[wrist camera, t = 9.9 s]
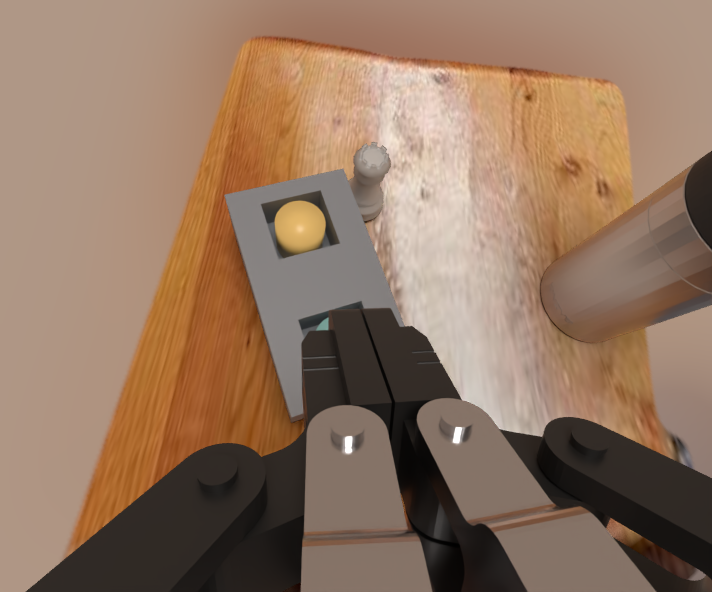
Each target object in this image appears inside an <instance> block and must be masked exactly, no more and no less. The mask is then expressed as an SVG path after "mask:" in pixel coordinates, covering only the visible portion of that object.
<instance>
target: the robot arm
mask: <svg viewBox="0 0 712 592" xmlns="http://www.w3.org/2000/svg"><path fill="white" fill-rule="evenodd" d="M541 297H542V302H543V305H544V307H545V310H546V312H547V314H548V315H549V317H550V319H551V320H552V321H553V322H554V324H555V325H556V326H557V327H558V328H559V329H561V330H562V331H563V332H564V333H565V334H567V335H569V336H571V337H573V338H574V339H577V340H580V341H583V342H591V343H595V342H603V341H606V340H609V339H612V338H615V337H618V336H621V335H624V334H627V333H630V332H633V331H636V330H639V329H642V328H645V327H648V326H651V325H654V324H656V323H660V322H663V321H666V320H668V319H672V318H675V317H678V316H681V315H684V314H687V313H690V312H692V311H695V310H698V309H701V308H704V307H707V306H710V305H712V151H711V152H710V153H708V154H706V155H705V156H704V157H702V158H701V159H700V160H698V161H697V162H695V163H694V164H693V165H691V166H690V167H688V168H687V169H685V170H684V171H682V172H681V173H680V174H678V175H677V176H675V177H674V178H673V179H671V180H670V181H668V182H667V183H665V184H664V185H663V186H661V187H660V188H659V189H657V190H656V191H654V192H653V193H652V194H650V195H649V196H648V197H646V198H645V199H643V200H642V201H640V202H639V203H637V204H636V205H634V206H633V207H632V208H630V209H629V210H627V211H626V212H624V213H623V214H622V215H620V216H619V217H617V218H616V219H614V220H613V221H612V222H610V223H609V224H607V225H606V226H605V227H603V228H602V229H600V230H599V231H597V232H596V233H595V234H593V235H592V236H590V237H589V238H587V239H586V240H585V241H583V242H582V243H580V244H579V245H577V246H576V247H574V248H573V249H571V250H570V251H569V252H567V253H566V254H564V255H563V256H562V257H560V258H559V259H557V260H556V261H554V262H553V263H552V264H551V265H550V266H549V267H548V268H547V270H546V271H545V273H544V275H543V278H542V282H541ZM301 355H302V400H303V414H304V428H305V429H304V431H303V433H302V434H301V435H300V437H299V438H298V439H297V440H296V441H294V442H293V443H292V444H290V445H289V446H287V447H286V448H284V449H282V450H279V451H277V452H274V453H271V454H269V455H266V456H263V457H260V455H259V454H258V453H257V452H256V451H254V450H252V449H251V448H249V447H246V446H244V445H240V444H233V443H222V444H216V445H212V446H208V447H205V448H203V449H201V450H198V451H197V452H195V453H193V454H191V455H190V456H189V457H187V458H186V459H185V460H184V461H182V462H181V463H180V464H179V465H177V466H176V467H175V468H174V469H173V470H171V471H170V472H169V473H168V474H167V475H165V476H164V477H163V478H162V479H161V480H159V481H158V482H157V483H156V484H155V485H153V486H152V487H151V488H150V489H149V490H147V491H146V492H145V493H144V494H143V495H141V496H140V497H139V498H138V499H137V500H135V501H134V502H133V503H132V504H131V505H129V506H128V507H127V508H126V509H125V510H123V511H122V512H121V513H120V514H119V515H117V516H116V517H115V518H114V519H113V520H111V521H110V522H109V523H108V524H107V525H105V526H104V527H103V528H102V529H101V530H99V531H98V532H97V533H96V534H95V535H93V536H92V537H91V538H90V539H89V540H87V541H86V542H85V543H84V544H83V545H81V546H80V547H79V548H78V549H76V550H75V551H74V552H73V553H72V554H70V555H69V556H68V557H67V558H66V559H64V560H63V561H62V562H61V563H60V564H58V565H57V566H56V567H55V568H54V569H52V570H51V571H50V572H49V573H48V574H46V575H45V576H44V577H43V578H42V579H40V581H38V582H37V583H36V584H35V585H33V586H32V587H31V588H30V589H28V590H27V591H26V592H282V591H284V590H286V589H288V588H289V587H291V586H293V585H295V584H297V583H299V582H301V592H712V478H710V477H708V476H706V475H704V474H702V473H700V472H698V471H695V470H693V469H691V468H689V467H687V466H685V465H683V464H681V463H679V462H677V461H674V460H672V459H670V458H668V457H666V456H664V455H662V454H660V453H658V452H656V451H653V450H651V449H649V448H647V447H645V446H643V445H641V444H639V443H637V442H635V441H632V440H630V439H628V438H626V437H624V436H622V435H620V434H618V433H616V432H614V431H611V430H609V429H607V428H605V427H603V426H601V425H599V424H596V423H594V422H591V421H588V420H585V419H580V418H574V417H563V418H558V419H554V420H553V421H551V422H549V423H548V424H547V426H546V428H545V430H544V433H543V437H539V436H533V435H527V434H521V433H515V432H509V431H505V430H501V429H498V427H497V426H496V424H495V423H494V422H493V420H492V419H491V418H490V417H489V415H488V414H487V413H486V412H484V411H483V410H482V409H480V408H479V407H477V406H475V405H473V404H471V403H469V402H466V401H463V400H462V399H461V397H460V396H459V394H458V392H457V390H456V389H455V387H454V385H453V383H452V381H451V380H450V378H449V376H448V374H447V373H446V371H445V369H444V367H443V365H442V364H441V363H440V360H439V358H438V357H437V355H436V353H434V349H433V348H432V346H431V344H430V342H429V341H428V339H427V337H426V336H425V335H423V334H422V333H420V332H419V331H418V330H416V329H415V328H414V327H412V326H407V327H400V326H399V324H398V322H397V320H396V318H395V316H394V313H393V311H392V309H391V308H365V309H340V310H329V318H328V330H316V331H309V332H308V333H307V335H306V337H305V338H304V340H303V341H302V343H301ZM400 493H401V494H402V497H403V501H404V504H405V511H404V510H403V505H402V500H401V495H400ZM610 518H612V519H614V520H615V521H617V522H619V523H621V524H622V525H624V526H626V527H627V528H629V529H631V530H632V531H634V532H636V533H638V534H639V535H641V536H643V537H644V538H646V539H648V540H650V541H651V542H653V543H655V544H656V545H658V546H660V547H661V548H663V549H665V550H667V551H668V552H670V553H672V554H673V555H675V556H677V557H679V558H680V559H682V560H684V561H685V562H687V563H689V564H690V565H692V566H694V567H696V568H697V569H699V570H700V571H702V572H703V573H705V574H706V576H705V577H704V578H703V579H701V580H698V581H690V580H686V579H682V578H680V577H678V576H676V575H674V574H672V573H670V572H669V571H667V570H666V569H664V568H662V567H661V566H659V565H657V564H656V563H654V562H652V561H651V560H649V559H648V558H646V557H644V556H643V555H641V554H639V553H638V552H636V551H634V550H633V549H631V548H629V547H628V546H626V545H625V544H623V543H621V542H620V541H618V540H616V539H615V538H613V537H612V536H611V535H610V533H609V532H608V531H607V530H606V527H607V525H608V523H609V520H610Z"/></svg>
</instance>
